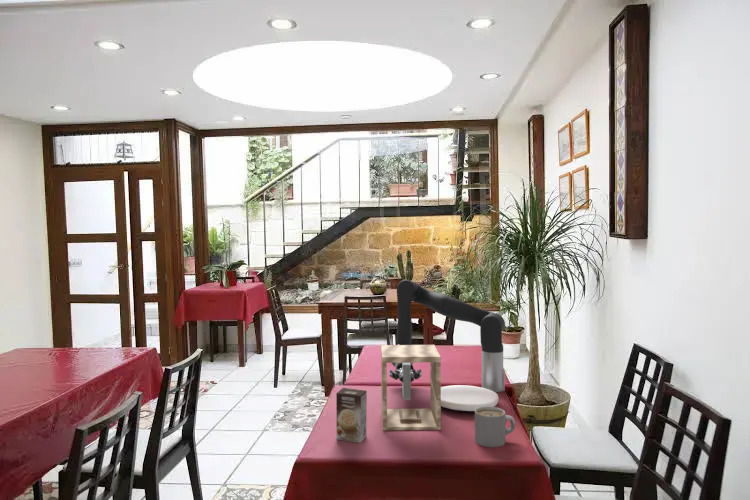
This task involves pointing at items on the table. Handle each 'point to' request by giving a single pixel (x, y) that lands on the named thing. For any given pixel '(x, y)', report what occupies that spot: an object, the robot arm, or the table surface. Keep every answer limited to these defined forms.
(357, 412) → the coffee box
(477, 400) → the plate
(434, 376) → the shelf
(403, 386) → the grey block
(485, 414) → the coffee mug
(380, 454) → the table surface
